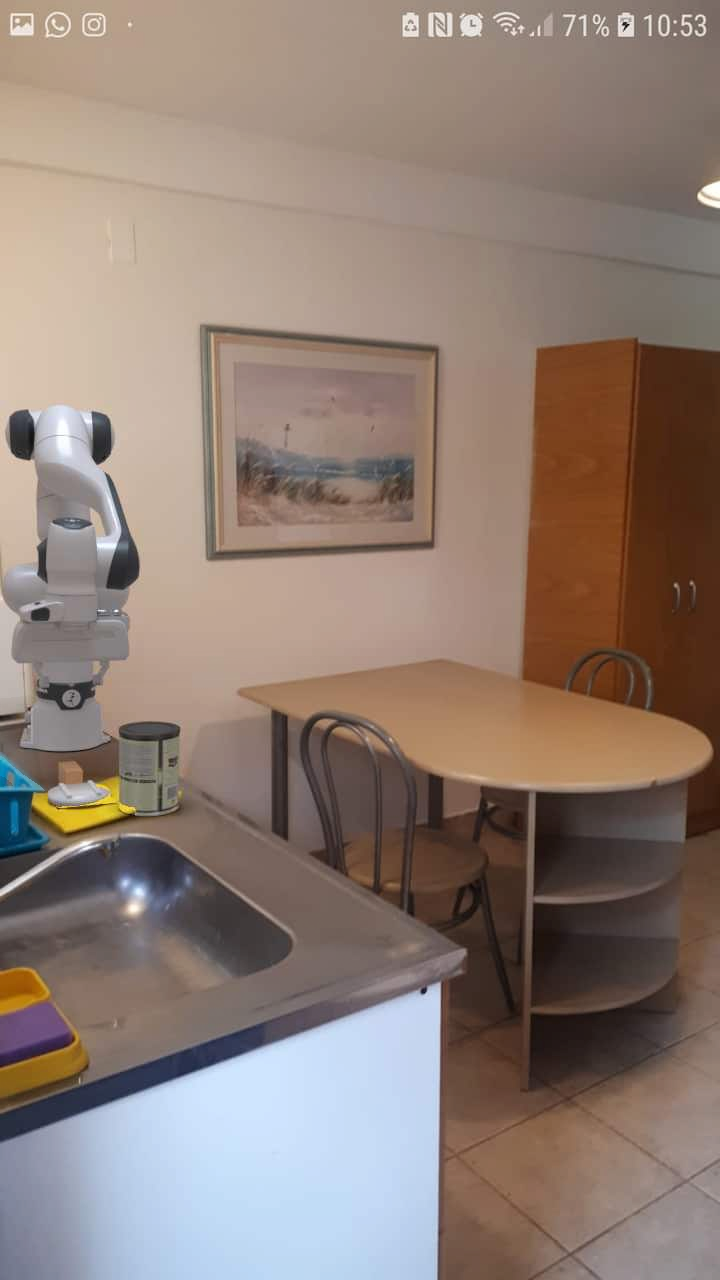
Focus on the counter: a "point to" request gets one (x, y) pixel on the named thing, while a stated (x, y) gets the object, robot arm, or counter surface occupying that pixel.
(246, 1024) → the counter surface
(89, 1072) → the counter surface
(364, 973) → the counter surface
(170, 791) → the coffee can
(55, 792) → the lid
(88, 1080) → the counter surface
